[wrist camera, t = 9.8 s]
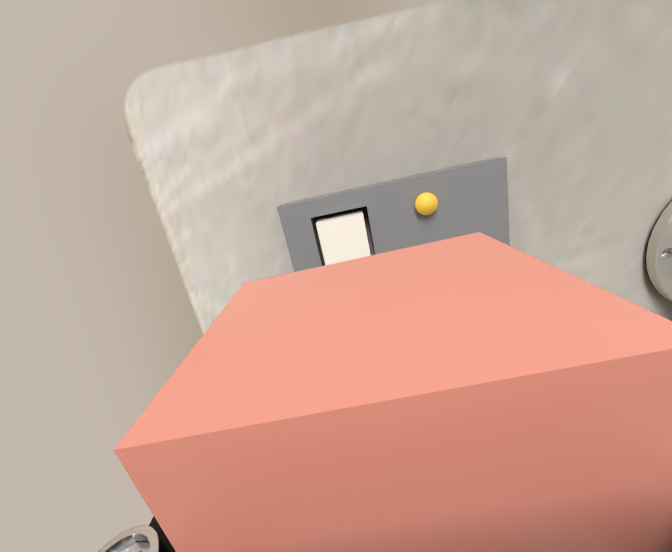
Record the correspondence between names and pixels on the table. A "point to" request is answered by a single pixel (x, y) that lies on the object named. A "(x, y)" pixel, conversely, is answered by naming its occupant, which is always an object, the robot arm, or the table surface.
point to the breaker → (343, 237)
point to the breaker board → (408, 210)
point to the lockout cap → (416, 413)
